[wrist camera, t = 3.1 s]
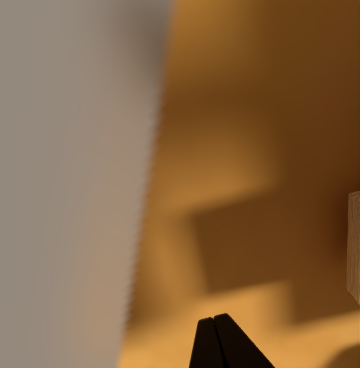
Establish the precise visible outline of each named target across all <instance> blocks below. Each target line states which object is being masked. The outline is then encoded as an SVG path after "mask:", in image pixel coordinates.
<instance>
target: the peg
mask: <svg viewBox="0 0 360 368" xmlns="http://www.w3.org/2000/svg"><path fill="white" fill-rule="evenodd" d="M347 290H348V291H349V293H350V294H351V295H352V296H353V297H354V299H355V300H356V301H357V302H358V303H359V305H360V191H357V192H353V193H349V197H348V246H347Z"/></svg>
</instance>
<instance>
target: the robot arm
mask: <svg viewBox="0 0 360 368" xmlns="http://www.w3.org/2000/svg"><path fill="white" fill-rule="evenodd" d="M213 319H214V320H213ZM214 323H215V324H214ZM189 368H275V367H274V366H273V365H272V364H271V362H270V361H269V360H268V359H267V358H266V357H265V356H264V354H263V353H262V352H261V351H260V350H259V349H258V348H257V346H256V345H255V344H254V343H253V342H252V341H251V340H250V338H249V337H248V336H247V335H246V334H245V333H244V331H243V330H242V329H241V328H240V327H239V326H238V325H237V323H236V322H235V321H234V320H233V319H232V318H231V317H230V315H229V314H227V313H224V314H220V315H216V316H214V318H212V317H208V318H205V319H201V320H199V321H198V324H197V329H196V334H195V339H194V344H193V349H192V354H191V359H190V364H189Z"/></svg>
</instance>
